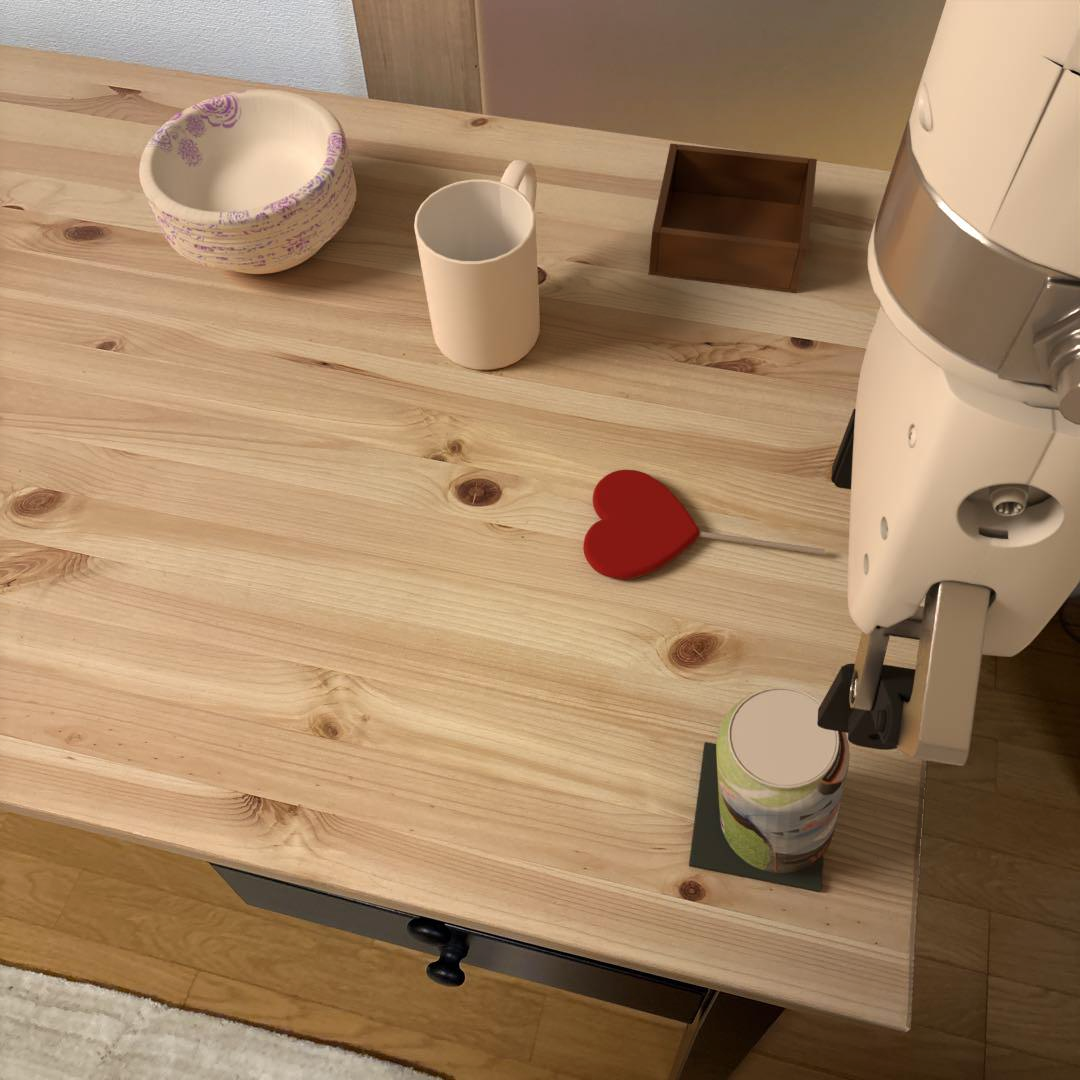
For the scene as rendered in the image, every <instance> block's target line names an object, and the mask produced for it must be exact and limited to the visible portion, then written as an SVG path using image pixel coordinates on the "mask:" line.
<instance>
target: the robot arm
mask: <svg viewBox="0 0 1080 1080" xmlns="http://www.w3.org/2000/svg"><path fill="white" fill-rule="evenodd" d="M923 69H924V70H923V73H922V75H921V79H920V82H919V85H918V88H917V91H916V95H915V98H914V101H913V103H912V106H911V109H910V113H909V115H908V118H907V120H906V123H905V124H906V125H905V127H904V130H903V133H902V136H901V139H900V142H899V146H898V149H897V152H896V154H895V159H894V162H893V165H892V168H891V172H890V174H889V177H888V181H887V183H886V187H885V190H884V193H883V197H882V198H881V202H880V206H879V209H878V212H877V214H876V217H875V221H874V223H873V227H872V230H871V234H870V237H869V242H868V246H867V262H866V263H867V270H868V275H869V280H870V283H871V287H872V290H873V293H874V296H875V297H876V299H877V300H878V302H879V304H880V307H879V309H878V311H877V315H876V316H875V317H876V318H875V320H874V323H873V326H872V328H871V332H870V335H869V338H868V342H867V345H866V349H865V352H864V355H863V360H862V363H861V368H860V374H859V379H858V383H857V384H858V385H857V386H858V387H857V393H856V403H855V408H853V410H852V413H851V415H850V417H849V421H848V424H847V427H846V429H845V431H844V433H843V436H842V440H841V443H840V444H839V448H838V450H837V453H836V455H835V458H834V461H833V463H832V466H831V477H830V481H831V482H832V483H833V484H834V486H835V487H836V488H839V489H845V490H850V504H849V506H850V507H849V508H850V509H849V534H848V536H849V537H848V557H847V559H848V562H847V607H848V614H849V616H850V618H851V620H852V621H853V622H854V624H855V626H857V627H858V628H859V630H860V631H861V635H860V639H859V644H858V648H857V652H856V657H855V662H854V663H846V664H843V665H841V667H840V669H839V671H838V673H836V676H835V678H834V679H833V682H832V683H831V685H830V687H829V689H828V690H827V693H826V694H825V696H824V697H823V700H822V701H821V705H820V707H819V709H818V721H817V725H818V726H819V727H821V728H823V729H827V730H833V731H840V732H845V733H846V734H847V740H848V743H851V744H853V745H855V746H857V747H862V748H867V749H872V750H873V749H874V750H881V751H884V750H885V751H889V750H897V751H899V752H901V753H902V754H903V755H905V756H907V757H909V758H910V759H914V760H920V761H924V762H925V761H926V762H931V763H938V764H945V765H951V766H957V767H964V766H965V764H966V763H967V760H968V757H969V752H970V749H971V748H970V746H971V740H972V732H973V726H974V717H975V709H976V701H977V694H978V688H979V687H978V686H979V680H980V672H981V666H982V665H981V664H982V658H983V656H993V657H1003V658H1004V657H1005V658H1007V657H1009V658H1011V657H1014V656H1016V655H1018V654H1019V653H1020V652H1022V651H1023V650H1024V649H1025V648H1027V647H1028V646H1029V645H1030V644H1031V643H1032V642H1033V641H1034V640H1035V638H1037V636H1039V634H1040V633H1041V632H1042V630H1044V628H1045V627H1046V626H1047V624H1048V623H1049V622H1050V621H1051V619H1052V618H1053V617H1054V616H1055V615H1056V613H1057V612H1058V611H1059V609H1060V608H1061V607H1062V606H1063V605H1064V603H1065V602H1066V600H1067V599H1068V598H1069V597H1070V595H1071V594H1072V592H1073V591H1074V590H1075V589H1076V588H1077V586H1078V585H1079V583H1080V0H945V4H944V8H943V10H942V12H941V16H940V18H939V22H938V26H937V28H936V32H935V36H934V37H933V41H932V44H931V48H930V51H929V54H928V57H927V60H926V63H925V66H924V68H923ZM923 601H924V603H923V606H922V605H921V604H922V602H923ZM890 637H895V638H897V637H898V638H902V639H903V638H904V639H909V640H916V641H917V640H918V649H917V656H916V665H915V668H908V667H903V666H896V665H890V664H884V662H885V657H886V653H887V649H888V646H889V641H890Z"/></svg>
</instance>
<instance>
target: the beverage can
mask: <svg viewBox="0 0 1080 1080" xmlns="http://www.w3.org/2000/svg"><path fill="white" fill-rule="evenodd" d="M821 703H822V701H820V700H819V699H817V698H816V697H814V696H813V695H811V694H810V693H807V692H805V691H802V690H800V689H796V688H791V687H784V686H774V687H769V688H764V689H761V690H758V691H756V692H754V693H752V694H750V695H748V696H746V697H744V698H742V699H741V700H740V701H738V702H737V703H735V705H734V706H733V707H732V708H731V709H730V710H729V711H728V712H727V713H726V715H725V716H724V718H723V720H722V721H721V724H720V727H719V729H718V730H717V731H718V732H717V738H716V742H715V744H716V755H717V773H718V792H719V810H720V822H721V827H722V830H723V833H724V836H725V838H726V840H727V842H728V843H729V845H730V847H731V848H732V849H733V850H734V851H735V853H736V854H737V855H738V856H740V857H741V858H742V859H743V860H744V861H746V862H747V863H749V864H751V865H752V866H754V867H756V868H759V869H761V870H764V871H769V872H773V873H788V872H795V871H798V870H801V869H804V868H806V867H808V866H810V865H812V864H813V863H814V862H816V861H817V860H818V859H819V858H820V857H821V856H822V855H823V856H824V854H825V853H826V852H827V850H828V848H829V847H830V844H831V843H832V840H833V836H834V833H835V829H836V826H837V825H836V824H837V822H838V821H837V820H838V815H839V811H840V806H841V802H842V798H843V794H844V788H845V784H846V781H847V780H846V779H847V775H848V771H849V766H850V758H851V754H850V743H849V740H848V735H847V733H846V732H840V731H833V730H827V729H823V728H821V727H819V726H818V725H817V721H818V709H819V707H820V705H821Z"/></svg>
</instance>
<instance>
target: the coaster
mask: <svg viewBox="0 0 1080 1080" xmlns="http://www.w3.org/2000/svg"><path fill="white" fill-rule="evenodd" d="M702 750H703V751H702V757H701V758H702V759H701V767H700V773H699V782H698V789H697V798H696V806H695V814H694V822H693V830H692V838H691V846H690V851H689V852H690V853H689V859H688V860H689V861H688V867H689V868H691V867H692V868H696V869H700V870H706V871H711V872H715V873H721V874H725V875H731V876H735V877H736V876H737V877H740V878H746V879H751V880H755V881H760V882H766V883H771V884H775V885H781V886H785V887H791V888H794V889H795V888H796V889H801V890H805V891H809V892H816V893H821V892H822V885H823V869H824V854H823V855H822V856H821V857H820V858H819V859H818V860H817V861H816V862H814V863H813V864H812V865H810V866H808V867H806V868H804V869H801V870H798V871H795V872H788V873H773V872H769V871H764V870H761V869H759V868H756V867H754V866H752V865H751V864H749V863H747V862H746V861H744V860H743V859H742V858H741V857H740V856H738V855H737V854H736V853H735V851H734V850H733V849H732V848H731V847H730V845H729V843H728V842H727V840H726V838H725V836H724V833H723V830H722V827H721V822H720V810H719V792H718V773H717V755H716V743H715V742H714V743H713V742H708V741H705V742H704V744H703V749H702Z"/></svg>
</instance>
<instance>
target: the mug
mask: <svg viewBox="0 0 1080 1080" xmlns="http://www.w3.org/2000/svg"><path fill="white" fill-rule="evenodd" d="M537 185H538V184H537V172H536V168H535V166H534V165H533V164H532V163H531V162H529V161H526V160H522V159H514V160H513V161H511V162H510V163H509V165H508V166H507V168H506V169H505V170H504V173H503V174H502V177H501V180H500V181H497V180H492V179H466V180H461V181H456V182H453V183H450V184H448V185H445V186H442V187H440V188H439V189H438V190H436V191H434V192H432V193H431V194H429V196H428V197H427V198H426V199H425V200H424V201H423V202H422V203H421V204H420V206H419V208H418V209H417V211H416V213H415V216H414V225H413V227H414V233H415V239H416V244H417V250H418V256H419V261H420V267H421V272H422V278H423V279H422V280H423V284H424V290H425V295H426V296H425V297H426V301H427V306H428V312H429V313H428V314H429V318H430V323H431V324H430V325H431V330H432V334H433V338H434V342H435V344H436V346H437V348H438V349H439V351H440V352H441V353H442V354H443V356H445V357H446V358H447V359H448V360H450V361H451V362H452V363H454V364H456V365H459V366H461V367H463V368H467V369H470V370H471V369H472V370H476V371H493V370H497V369H502V368H506V367H508V366H511V365H513V364H515V363H517V362H519V361H520V360H521V359H523V358H524V357H525V356H527V355H528V354H529V352H530V351H531V350H532V349H533V348H534V346H535V345H536V343H537V340H538V338H539V335H540V330H541V328H540V327H541V319H540V318H541V317H540V314H541V313H540V293H539V291H540V290H539V274H538V273H539V271H538V269H539V268H538V249H537V248H538V247H537V245H538V244H537V225H536V212H535V208H536V207H535V206H536V201H537V200H536V199H537V187H538V186H537Z"/></svg>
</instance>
